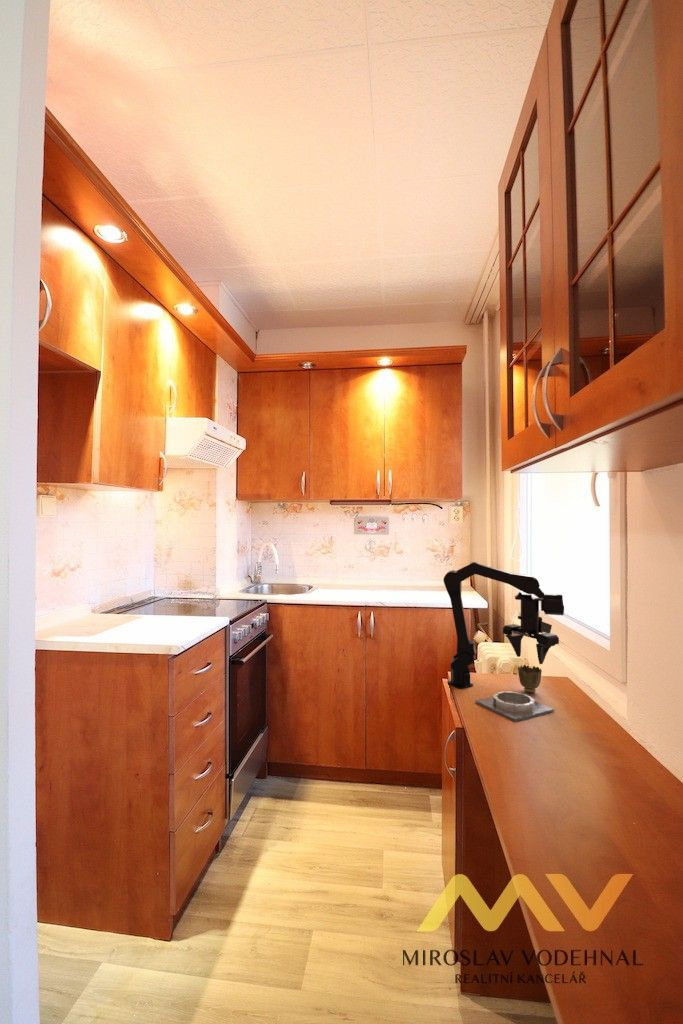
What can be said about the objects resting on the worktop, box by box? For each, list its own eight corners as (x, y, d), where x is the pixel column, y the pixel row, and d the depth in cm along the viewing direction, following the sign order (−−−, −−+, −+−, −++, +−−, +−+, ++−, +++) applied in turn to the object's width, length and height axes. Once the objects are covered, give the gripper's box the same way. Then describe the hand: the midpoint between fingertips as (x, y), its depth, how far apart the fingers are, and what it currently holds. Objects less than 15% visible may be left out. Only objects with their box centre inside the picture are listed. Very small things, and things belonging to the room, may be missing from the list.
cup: (543, 690, 160) (543, 667, 161) (539, 697, 154) (539, 672, 154) (520, 686, 164) (520, 663, 164) (515, 693, 158) (515, 669, 158)
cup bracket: (475, 702, 150) (475, 693, 150) (512, 694, 157) (512, 685, 157) (515, 722, 135) (515, 712, 135) (553, 711, 143) (553, 702, 143)
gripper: (570, 616, 155) (570, 664, 155) (524, 606, 172) (524, 650, 171) (546, 619, 150) (546, 669, 150) (501, 609, 167) (501, 654, 166)
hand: (529, 660), depth 159 cm, fingers open, 9 cm apart
